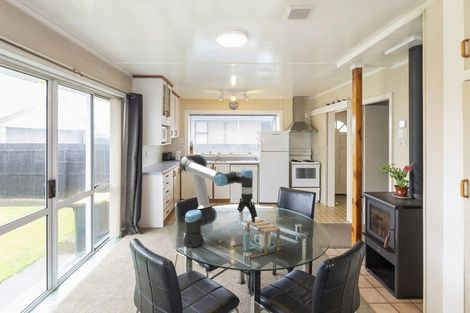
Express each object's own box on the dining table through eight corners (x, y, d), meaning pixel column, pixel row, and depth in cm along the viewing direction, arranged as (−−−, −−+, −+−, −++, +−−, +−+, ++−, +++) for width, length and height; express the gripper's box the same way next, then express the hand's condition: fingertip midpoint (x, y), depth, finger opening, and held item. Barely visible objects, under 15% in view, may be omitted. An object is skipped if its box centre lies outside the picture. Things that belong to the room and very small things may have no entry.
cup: (272, 248, 184) (272, 234, 183) (255, 249, 182) (255, 235, 181) (269, 243, 192) (269, 230, 191) (252, 244, 190) (253, 230, 189)
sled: (236, 246, 186) (237, 229, 185) (262, 239, 198) (262, 224, 198) (252, 256, 171) (252, 238, 170) (278, 248, 183) (279, 231, 182)
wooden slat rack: (232, 245, 187) (232, 223, 186) (263, 238, 202) (263, 217, 201) (251, 258, 168) (251, 234, 166) (283, 249, 182) (284, 226, 181)
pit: (266, 240, 198) (266, 240, 198) (273, 238, 202) (273, 238, 202) (278, 247, 186) (279, 246, 186) (286, 245, 190) (286, 244, 190)
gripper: (232, 190, 185) (232, 219, 186) (253, 197, 164) (253, 230, 165) (241, 189, 189) (241, 218, 190) (262, 195, 168) (262, 228, 169)
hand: (246, 223), depth 178 cm, fingers open, 13 cm apart
